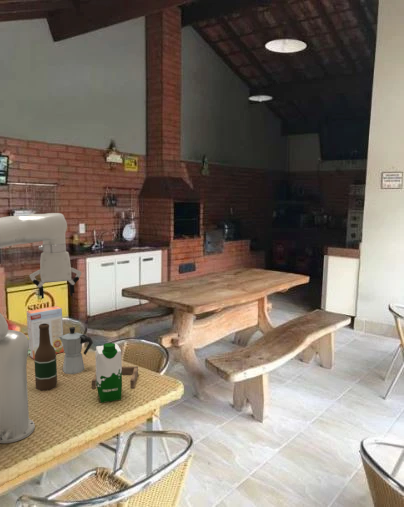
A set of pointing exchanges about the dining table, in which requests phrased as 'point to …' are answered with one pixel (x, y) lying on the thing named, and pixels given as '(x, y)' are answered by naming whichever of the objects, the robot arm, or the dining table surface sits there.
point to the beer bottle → (45, 361)
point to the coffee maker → (74, 351)
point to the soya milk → (108, 372)
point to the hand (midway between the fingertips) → (57, 296)
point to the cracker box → (55, 327)
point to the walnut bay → (125, 371)
